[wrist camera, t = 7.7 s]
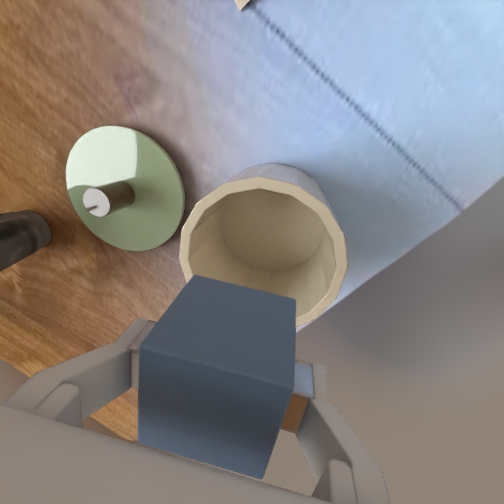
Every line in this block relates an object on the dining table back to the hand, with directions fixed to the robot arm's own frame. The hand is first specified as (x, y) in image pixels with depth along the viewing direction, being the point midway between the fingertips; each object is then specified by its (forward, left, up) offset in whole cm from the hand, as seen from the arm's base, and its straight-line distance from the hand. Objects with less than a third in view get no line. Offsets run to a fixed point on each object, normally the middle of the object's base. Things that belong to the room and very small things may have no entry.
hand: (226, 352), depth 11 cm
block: (0, 0, -2) cm, 2 cm away
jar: (0, 0, -18) cm, 18 cm away
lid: (-15, 0, -18) cm, 23 cm away
